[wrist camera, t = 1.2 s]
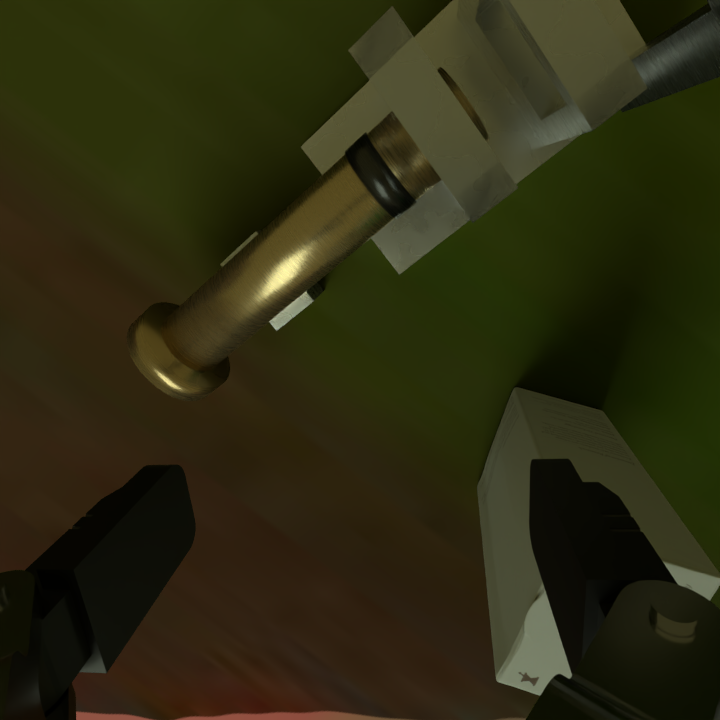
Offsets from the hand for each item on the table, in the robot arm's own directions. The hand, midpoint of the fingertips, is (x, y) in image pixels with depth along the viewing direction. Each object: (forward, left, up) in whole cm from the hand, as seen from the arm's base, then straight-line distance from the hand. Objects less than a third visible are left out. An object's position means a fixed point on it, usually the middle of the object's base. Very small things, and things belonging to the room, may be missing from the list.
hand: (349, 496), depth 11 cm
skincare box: (-1, +13, -21) cm, 24 cm away
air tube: (+2, -6, -17) cm, 18 cm away
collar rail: (-5, -6, -20) cm, 22 cm away
